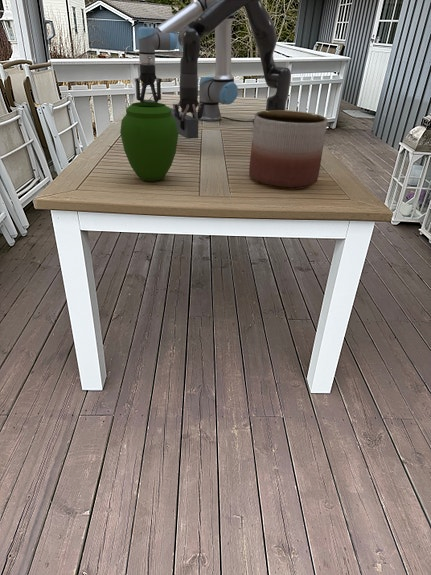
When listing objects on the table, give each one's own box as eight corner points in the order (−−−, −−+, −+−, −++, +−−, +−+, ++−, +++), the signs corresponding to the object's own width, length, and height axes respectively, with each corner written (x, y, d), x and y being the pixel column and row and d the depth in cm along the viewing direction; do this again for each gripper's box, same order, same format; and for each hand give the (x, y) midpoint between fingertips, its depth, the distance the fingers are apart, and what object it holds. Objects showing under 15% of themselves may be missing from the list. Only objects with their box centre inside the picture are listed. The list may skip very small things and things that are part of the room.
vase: (131, 189, 135) (125, 110, 122) (118, 172, 150) (112, 100, 137) (186, 184, 142) (187, 109, 129) (169, 168, 157) (167, 99, 144)
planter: (327, 190, 144) (341, 124, 132) (258, 191, 139) (265, 122, 128) (303, 169, 165) (312, 110, 153) (241, 169, 161) (246, 109, 149)
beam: (142, 115, 215) (141, 99, 211) (151, 114, 217) (150, 99, 213) (187, 138, 173) (187, 120, 169) (198, 137, 175) (198, 119, 171)
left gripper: (132, 64, 193) (135, 117, 205) (167, 65, 201) (168, 115, 213) (127, 63, 199) (130, 114, 211) (161, 63, 206) (162, 113, 219)
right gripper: (176, 87, 161) (176, 132, 170) (208, 86, 167) (207, 130, 176) (168, 85, 166) (169, 128, 175) (200, 84, 172) (199, 126, 182)
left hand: (149, 115), depth 212 cm, fingers closed on beam, 5 cm apart
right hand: (188, 129), depth 176 cm, fingers closed on beam, 5 cm apart
